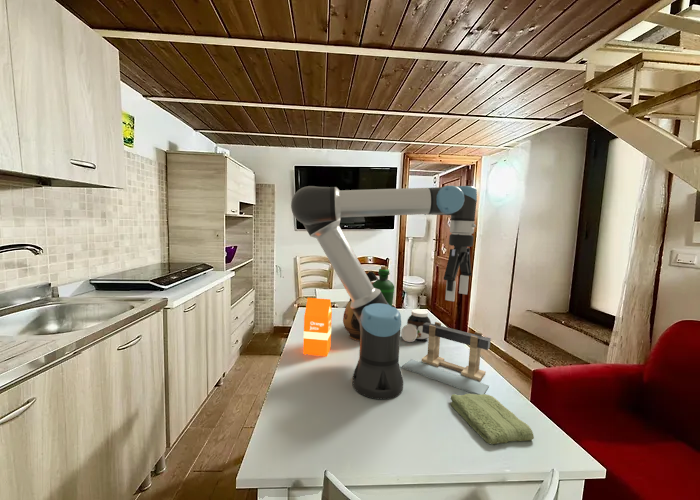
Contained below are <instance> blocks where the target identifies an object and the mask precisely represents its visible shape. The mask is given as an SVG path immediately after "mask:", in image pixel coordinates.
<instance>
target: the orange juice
mask: <svg viewBox="0 0 700 500" xmlns="http://www.w3.org/2000/svg"><path fill="white" fill-rule="evenodd" d="M332 313H333V310H332V301H331V298H317V297H315V298H314V297H307V299H306V305H305V312H304V315H303V347H302V348H303V350H302V351H303V352H302V354H303V355H306V354H308V355H310V356H319V357H328V354H329V352H330V350H331V345H332V344H331V343H332V341H331V340H332V319H333V317H332V316H333V314H332Z"/></svg>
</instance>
